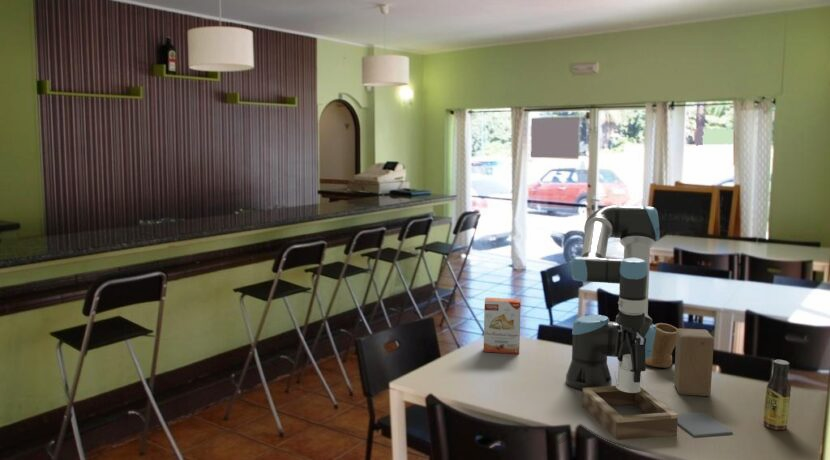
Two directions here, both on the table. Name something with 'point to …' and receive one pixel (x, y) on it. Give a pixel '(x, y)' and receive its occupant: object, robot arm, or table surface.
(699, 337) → the wooden block
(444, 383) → the table surface
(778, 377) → the sauce bottle
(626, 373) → the downlight
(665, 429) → the open wooden box
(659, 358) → the tan boot
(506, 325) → the cracker box
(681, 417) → the rubber mat
